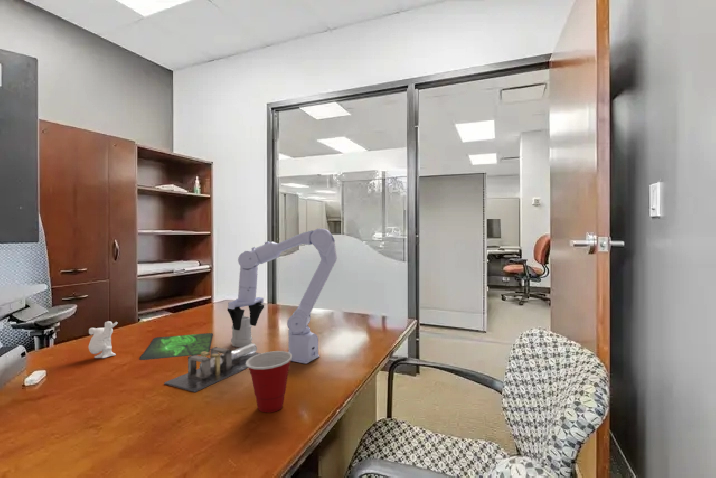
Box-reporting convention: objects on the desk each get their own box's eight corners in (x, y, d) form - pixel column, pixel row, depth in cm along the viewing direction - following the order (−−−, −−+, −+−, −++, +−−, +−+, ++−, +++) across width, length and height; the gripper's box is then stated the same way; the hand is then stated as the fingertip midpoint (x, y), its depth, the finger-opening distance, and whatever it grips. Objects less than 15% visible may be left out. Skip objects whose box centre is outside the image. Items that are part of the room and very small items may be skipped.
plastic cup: (244, 401, 91) (244, 352, 91) (288, 394, 95) (288, 348, 95) (247, 422, 81) (246, 367, 81) (296, 413, 85) (296, 361, 85)
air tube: (249, 351, 125) (249, 340, 125) (256, 353, 124) (256, 341, 124) (199, 372, 107) (199, 358, 107) (207, 374, 105) (207, 360, 105)
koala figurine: (122, 353, 128) (121, 318, 128) (111, 359, 121) (111, 323, 121) (96, 354, 127) (95, 319, 127) (83, 361, 120) (83, 324, 120)
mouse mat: (209, 354, 128) (209, 351, 128) (137, 362, 120) (137, 359, 120) (213, 334, 153) (213, 332, 153) (153, 339, 146) (153, 337, 146)
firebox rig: (272, 356, 124) (272, 338, 124) (194, 392, 96) (194, 368, 96) (245, 351, 129) (244, 333, 129) (164, 384, 102) (164, 361, 102)
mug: (230, 348, 134) (230, 315, 134) (232, 339, 145) (232, 308, 145) (252, 346, 136) (251, 313, 136) (252, 337, 147) (252, 307, 147)
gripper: (253, 283, 131) (251, 321, 131) (222, 287, 118) (219, 329, 118) (269, 285, 128) (266, 324, 128) (238, 290, 115) (235, 333, 115)
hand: (245, 327), depth 123 cm, fingers open, 7 cm apart
